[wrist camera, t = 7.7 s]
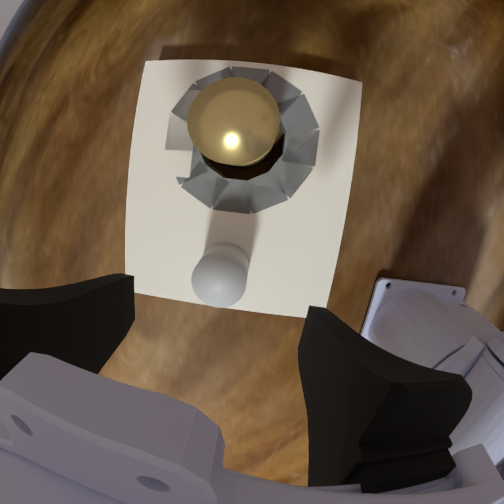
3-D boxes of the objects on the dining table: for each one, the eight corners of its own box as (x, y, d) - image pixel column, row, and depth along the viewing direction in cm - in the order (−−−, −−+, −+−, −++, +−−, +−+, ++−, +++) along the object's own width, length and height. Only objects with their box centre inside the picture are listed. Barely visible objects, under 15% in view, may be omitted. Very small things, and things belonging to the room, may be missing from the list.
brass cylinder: (277, 113, 18) (285, 83, 11) (269, 170, 19) (273, 170, 12) (218, 106, 18) (195, 74, 11) (210, 163, 19) (181, 159, 12)
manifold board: (353, 89, 17) (379, 68, 12) (318, 306, 21) (331, 343, 16) (155, 69, 17) (127, 45, 12) (136, 280, 21) (106, 308, 16)
